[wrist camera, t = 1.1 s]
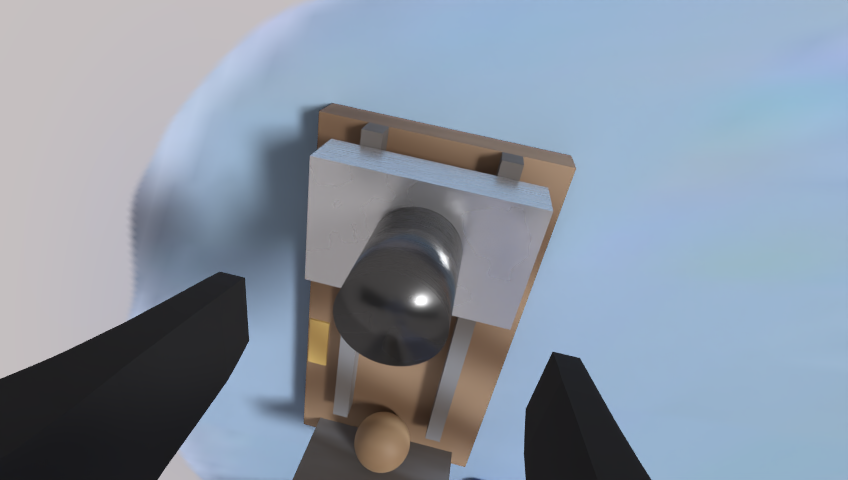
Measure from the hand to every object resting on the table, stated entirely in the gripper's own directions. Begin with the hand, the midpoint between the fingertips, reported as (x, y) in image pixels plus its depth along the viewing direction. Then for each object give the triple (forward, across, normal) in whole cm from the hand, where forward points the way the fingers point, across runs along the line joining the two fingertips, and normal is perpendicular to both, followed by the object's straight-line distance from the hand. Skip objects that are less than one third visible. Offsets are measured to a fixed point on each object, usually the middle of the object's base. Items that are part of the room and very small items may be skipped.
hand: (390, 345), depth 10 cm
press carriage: (+7, 0, +1) cm, 7 cm away
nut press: (+10, 0, +8) cm, 13 cm away
